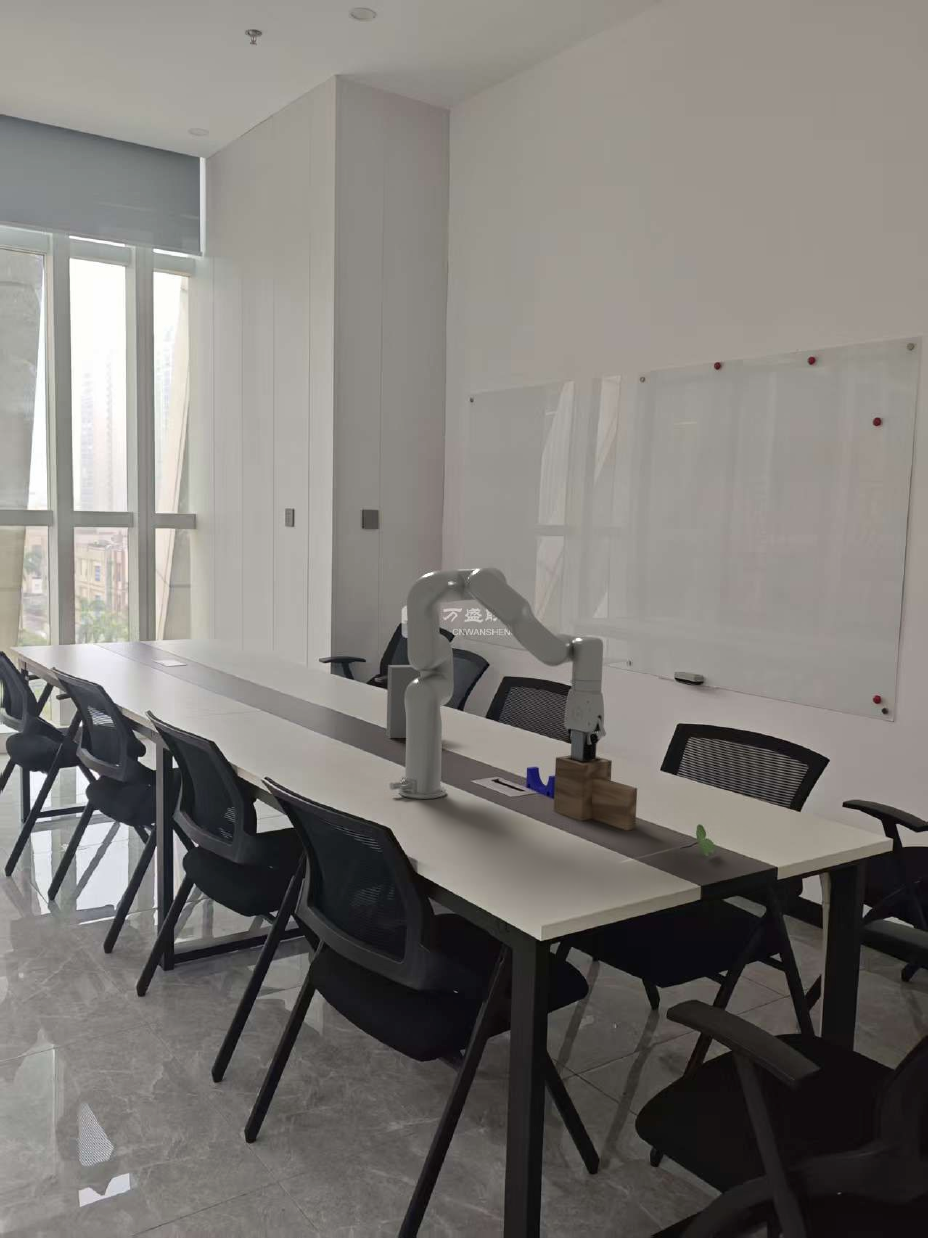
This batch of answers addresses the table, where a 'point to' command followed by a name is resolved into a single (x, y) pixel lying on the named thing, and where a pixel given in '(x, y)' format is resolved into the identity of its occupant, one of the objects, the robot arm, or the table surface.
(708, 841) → the seedling
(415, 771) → the robot arm
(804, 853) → the table surface
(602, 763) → the brown stepped hollow block
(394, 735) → the tall grey block
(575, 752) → the upright grey metal pillar
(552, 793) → the blue cradle block
